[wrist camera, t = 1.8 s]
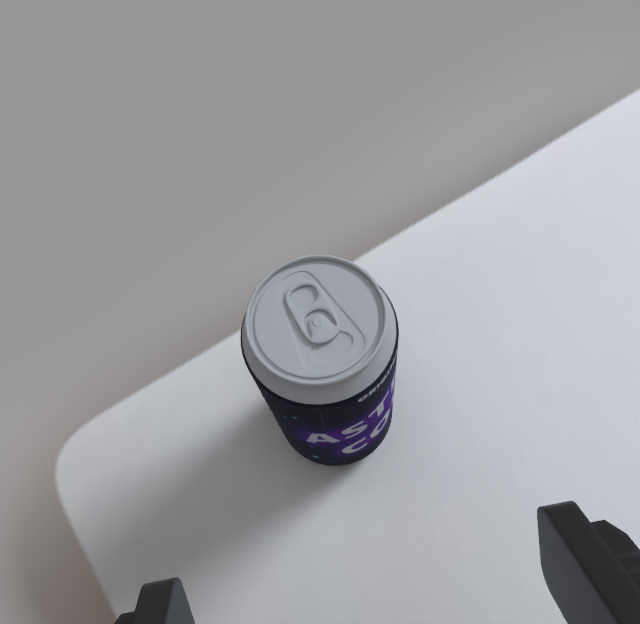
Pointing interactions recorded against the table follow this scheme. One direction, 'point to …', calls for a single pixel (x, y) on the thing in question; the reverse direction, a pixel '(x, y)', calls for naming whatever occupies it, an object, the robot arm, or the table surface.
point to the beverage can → (324, 356)
